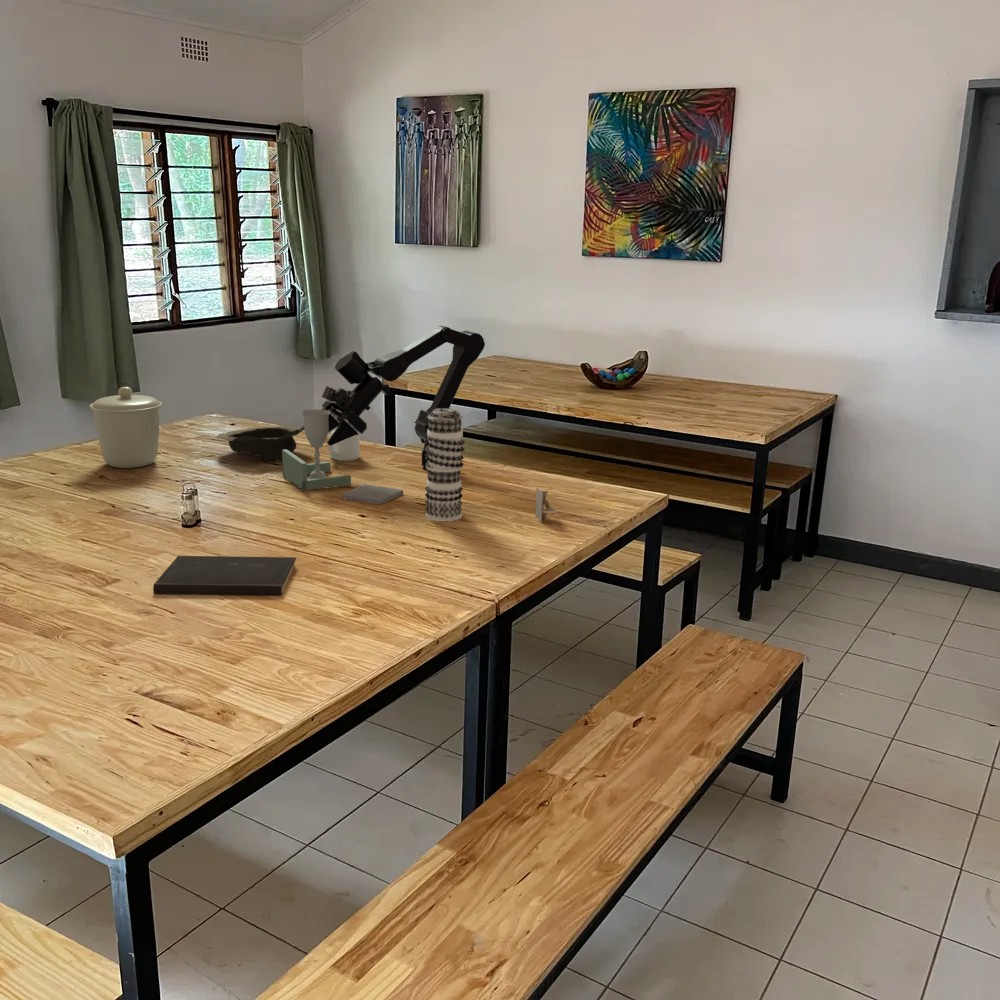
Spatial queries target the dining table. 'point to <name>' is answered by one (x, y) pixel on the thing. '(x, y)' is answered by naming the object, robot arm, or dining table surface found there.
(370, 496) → the rubber mat
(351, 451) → the mug
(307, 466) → the u-shaped frame
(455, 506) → the decorative candle
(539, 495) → the grey angled bracket piece
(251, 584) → the hardcover book
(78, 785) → the dining table surface
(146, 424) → the canister
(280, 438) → the stone bowl
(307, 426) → the chalice
